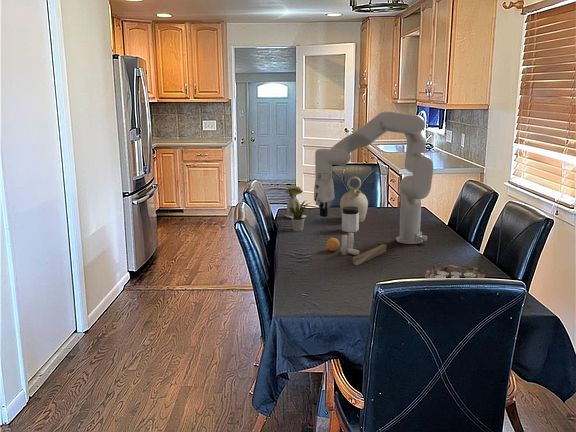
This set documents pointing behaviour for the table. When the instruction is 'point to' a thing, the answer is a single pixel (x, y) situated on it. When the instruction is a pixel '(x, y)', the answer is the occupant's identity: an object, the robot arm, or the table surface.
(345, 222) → the jar
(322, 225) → the table surface
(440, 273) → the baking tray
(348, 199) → the jug
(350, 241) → the back pin right
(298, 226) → the house plant
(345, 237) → the back pin left
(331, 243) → the ball
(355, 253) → the front pin
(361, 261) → the curved brown wooden stick
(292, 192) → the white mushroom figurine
